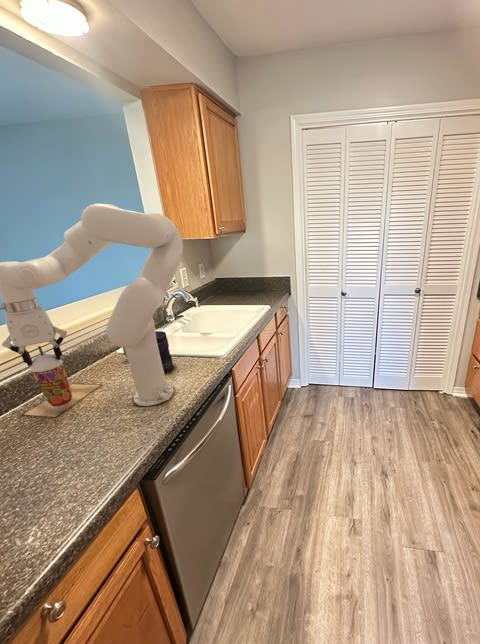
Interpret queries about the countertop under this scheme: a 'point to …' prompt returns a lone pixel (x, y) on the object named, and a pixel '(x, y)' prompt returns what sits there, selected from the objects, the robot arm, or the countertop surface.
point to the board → (53, 411)
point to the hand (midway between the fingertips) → (44, 360)
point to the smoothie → (51, 378)
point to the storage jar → (164, 351)
